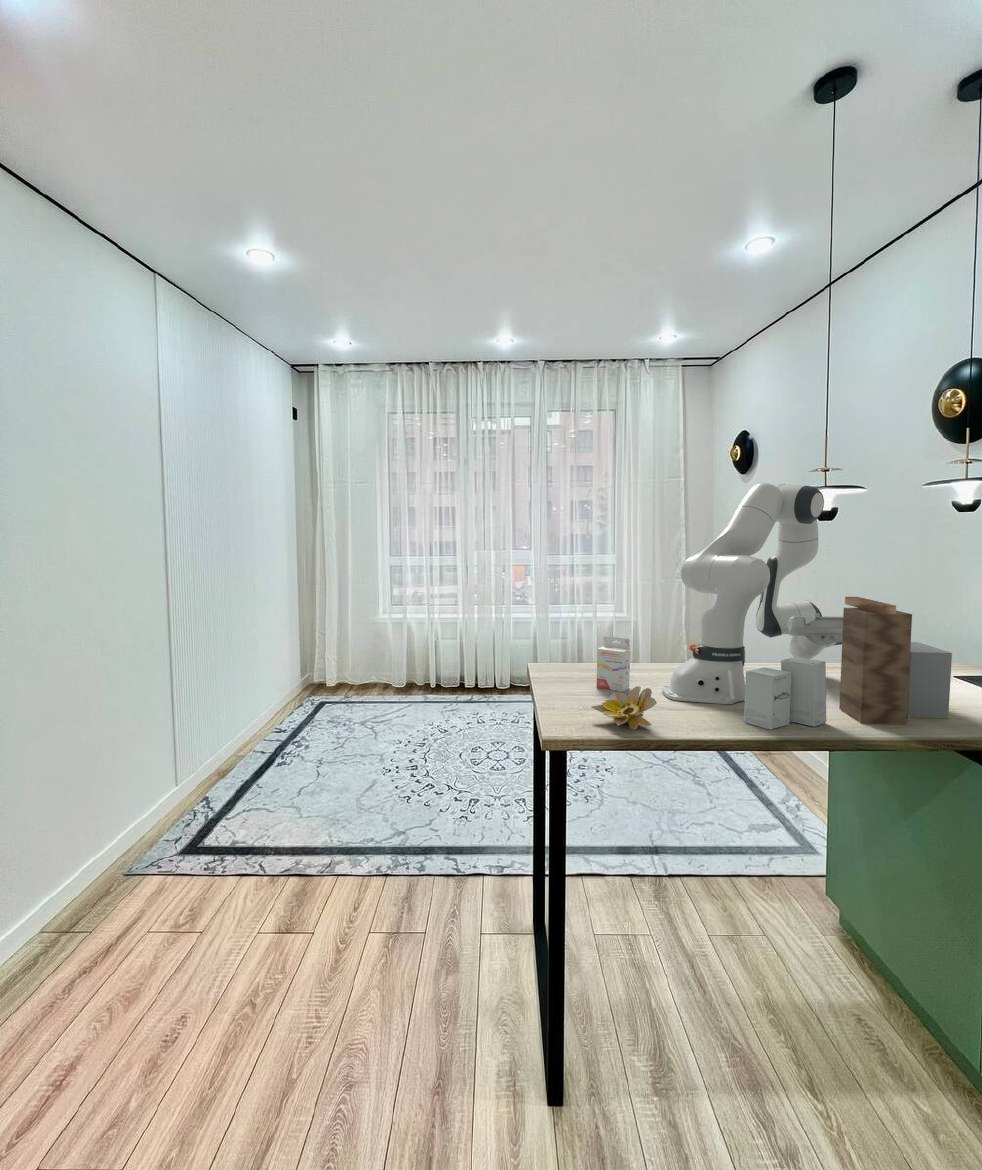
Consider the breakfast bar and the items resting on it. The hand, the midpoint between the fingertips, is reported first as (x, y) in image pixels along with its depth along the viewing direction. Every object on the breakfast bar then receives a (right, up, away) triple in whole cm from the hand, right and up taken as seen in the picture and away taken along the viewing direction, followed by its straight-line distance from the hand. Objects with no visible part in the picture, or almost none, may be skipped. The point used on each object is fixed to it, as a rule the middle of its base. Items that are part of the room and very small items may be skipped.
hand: (835, 615), depth 174 cm
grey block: (+11, -23, -15) cm, 30 cm away
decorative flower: (-65, -25, -26) cm, 74 cm away
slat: (-3, +3, -20) cm, 20 cm away
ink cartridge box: (-60, -22, +8) cm, 65 cm away
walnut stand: (-3, -24, -22) cm, 32 cm away
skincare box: (-22, -24, -25) cm, 41 cm away
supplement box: (-31, -24, -27) cm, 48 cm away
